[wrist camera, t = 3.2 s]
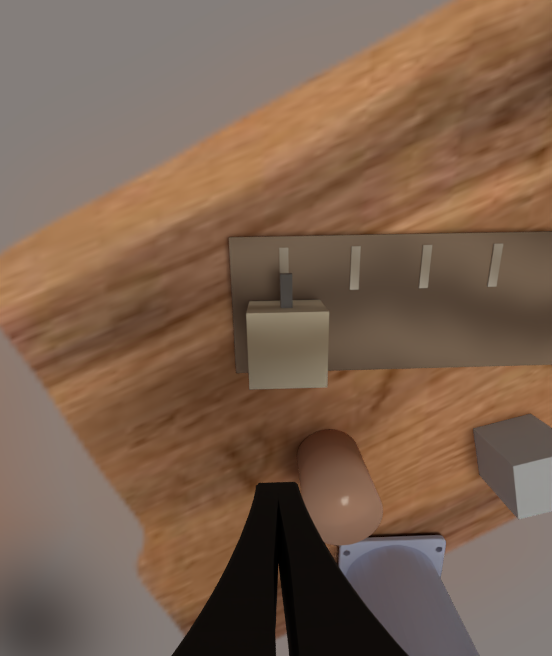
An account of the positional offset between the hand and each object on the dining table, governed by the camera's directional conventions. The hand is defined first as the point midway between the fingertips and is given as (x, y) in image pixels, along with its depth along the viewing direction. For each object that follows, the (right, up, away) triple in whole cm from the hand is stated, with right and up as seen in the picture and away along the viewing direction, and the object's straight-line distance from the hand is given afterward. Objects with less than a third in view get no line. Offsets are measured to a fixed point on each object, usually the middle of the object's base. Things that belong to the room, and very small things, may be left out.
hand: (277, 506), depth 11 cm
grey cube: (+16, -2, +12) cm, 20 cm away
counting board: (+8, +8, +9) cm, 15 cm away
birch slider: (+1, +7, +8) cm, 10 cm away
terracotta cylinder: (+4, -3, +12) cm, 13 cm away
